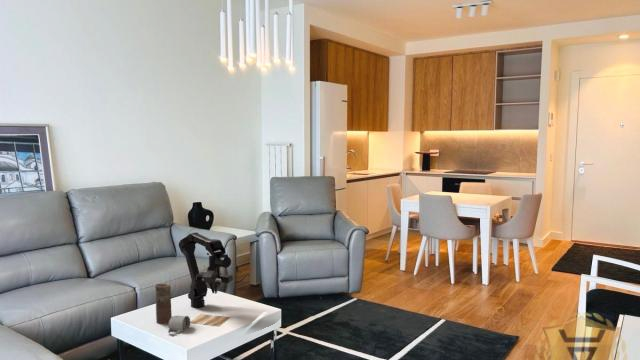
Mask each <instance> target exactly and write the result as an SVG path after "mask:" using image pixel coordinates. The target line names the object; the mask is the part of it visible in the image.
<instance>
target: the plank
mask: <svg viewBox="0 0 640 360" xmlns="http://www.w3.org/2000/svg"><path fill="white" fill-rule="evenodd" d="M212 317H214V315H212V314H206V313H200V314H199V315H197V316H196V317H194V318H193V319H190V324H198V325H203V324H204V323H205V322H207V321H208V320H210V319H211V318H212Z"/></svg>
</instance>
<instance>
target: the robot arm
mask: <svg viewBox="0 0 640 360" xmlns="http://www.w3.org/2000/svg"><path fill="white" fill-rule="evenodd" d="M197 244H198V245H200V246H203V247H204V248H205V250H206V251H207V252H206V255H207V256H208V266H207V270H206V271H201V272H200V269H199V267H198V262H197V258H196V255H195V251H196V245H197ZM178 247H179V250H180V253H182V255H184V257H185V261H186V263H187V264H186V265H187V267H188V270H189V275H190V279H191V280H190V281H191V283H190V291H189V292H188V293H187V297H188V299H189V300H190V308H193V309H203V308H204V307H205V306H206V305H205V304H206V303H205V302H206V301H205V298H204V297H207V294H208V285H209V287H210V290H211V293H212V294H217V293H218V291H219V288H220V286H221V284H222V283H223V284H229V283H231V282H233V281H234V276H233V275H231V274H224V275H223V276H222V272H221V268H224V269H228V268H230V266H231V265H232V259H231V258H230V256H229V254H228V253H227V252H226V249H225V247H224V245H223V243H222V241H221V240H220V239H216V238H214V239H213V238H209V237H207V236H204V235H202V234H201V233H198V232H191V233H189V234H187V236H185V237H184V238H181V239H180V240H179V242H178ZM207 284H208V285H207Z"/></svg>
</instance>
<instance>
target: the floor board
mask: <svg viewBox="0 0 640 360" xmlns="http://www.w3.org/2000/svg"><path fill="white" fill-rule="evenodd" d="M231 318H232V317H231V316H224V315H223V316H222V315H213V317H211V318H210V319H208V320H207V321H206V322H204V323H203V324H202V325H203V326H209V327H210V326H211V327H221V326H222V325H223V324H225V323H226V322H227V321H228V320H229V319H231Z"/></svg>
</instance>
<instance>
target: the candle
mask: <svg viewBox="0 0 640 360" xmlns="http://www.w3.org/2000/svg"><path fill="white" fill-rule="evenodd" d="M154 288H155V313H156V314H155V319H156V324H159V325H166V324H169V320H170V318H171V317H173V315H172V299H171V298H172V297H171V295H172V294H171V293H172V292H171V291H172V290H171V285H170V284H168V283H156V284H155V287H154Z"/></svg>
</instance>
